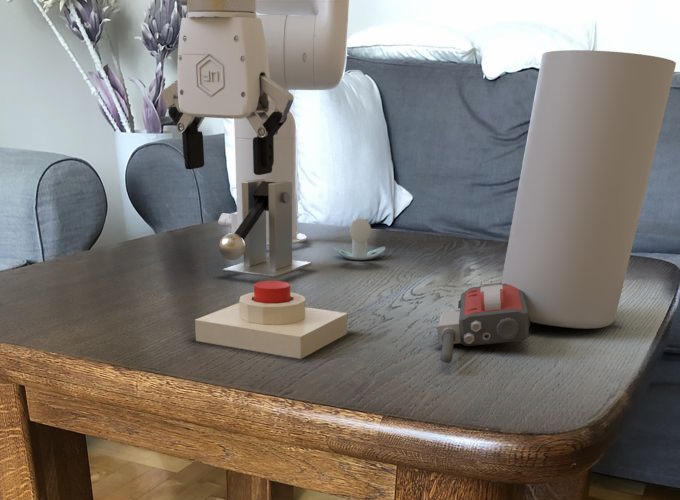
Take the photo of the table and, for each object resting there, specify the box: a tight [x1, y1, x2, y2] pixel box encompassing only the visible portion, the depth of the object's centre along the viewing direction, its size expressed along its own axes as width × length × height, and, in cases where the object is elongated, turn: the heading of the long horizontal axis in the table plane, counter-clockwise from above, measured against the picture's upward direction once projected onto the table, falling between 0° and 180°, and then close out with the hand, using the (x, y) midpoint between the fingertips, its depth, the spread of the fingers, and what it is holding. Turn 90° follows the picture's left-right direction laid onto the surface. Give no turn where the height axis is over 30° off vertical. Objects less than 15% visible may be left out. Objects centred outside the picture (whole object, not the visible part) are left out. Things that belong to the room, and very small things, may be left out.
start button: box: [253, 280, 291, 304], centre depth 81 cm, size 4×4×2 cm
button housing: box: [194, 291, 348, 360], centre depth 82 cm, size 12×10×4 cm
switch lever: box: [218, 181, 275, 261], centre depth 104 cm, size 13×3×3 cm, turn 152°
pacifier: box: [333, 217, 386, 261], centre depth 115 cm, size 7×6×6 cm
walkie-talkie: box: [436, 280, 531, 364], centre depth 80 cm, size 9×4×20 cm
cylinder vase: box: [501, 49, 677, 329], centre depth 84 cm, size 12×12×25 cm
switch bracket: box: [222, 179, 312, 279], centre depth 108 cm, size 10×8×12 cm
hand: (228, 170), depth 97 cm, fingers open, 9 cm apart
